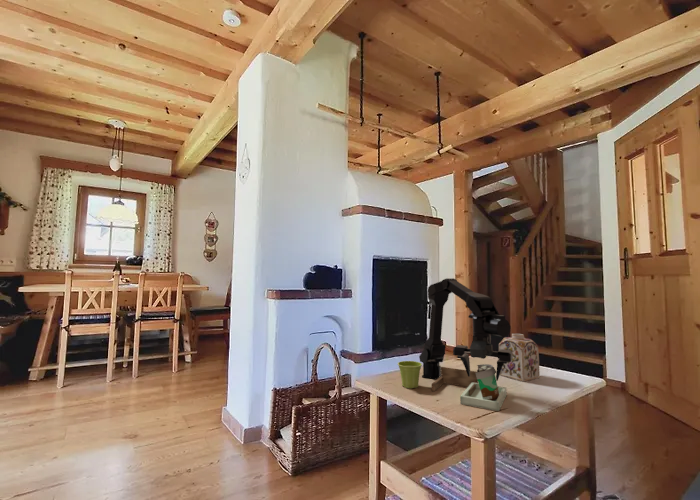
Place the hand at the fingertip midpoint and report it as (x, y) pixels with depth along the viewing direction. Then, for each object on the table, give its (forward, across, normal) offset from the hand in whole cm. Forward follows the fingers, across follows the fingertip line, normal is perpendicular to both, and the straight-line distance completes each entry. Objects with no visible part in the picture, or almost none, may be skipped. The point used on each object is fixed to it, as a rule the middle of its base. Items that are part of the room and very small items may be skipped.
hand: (482, 378), depth 119 cm
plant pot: (+8, -28, +2) cm, 29 cm away
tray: (+8, 0, +2) cm, 8 cm away
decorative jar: (+8, +7, +39) cm, 41 cm away
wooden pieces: (+8, -12, +8) cm, 16 cm away
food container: (+6, +3, +2) cm, 8 cm away
